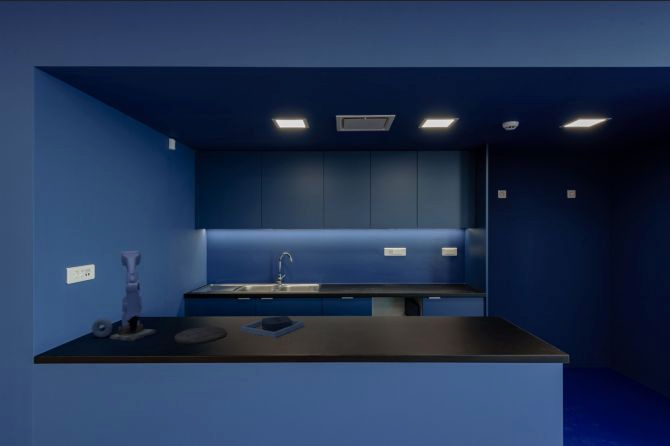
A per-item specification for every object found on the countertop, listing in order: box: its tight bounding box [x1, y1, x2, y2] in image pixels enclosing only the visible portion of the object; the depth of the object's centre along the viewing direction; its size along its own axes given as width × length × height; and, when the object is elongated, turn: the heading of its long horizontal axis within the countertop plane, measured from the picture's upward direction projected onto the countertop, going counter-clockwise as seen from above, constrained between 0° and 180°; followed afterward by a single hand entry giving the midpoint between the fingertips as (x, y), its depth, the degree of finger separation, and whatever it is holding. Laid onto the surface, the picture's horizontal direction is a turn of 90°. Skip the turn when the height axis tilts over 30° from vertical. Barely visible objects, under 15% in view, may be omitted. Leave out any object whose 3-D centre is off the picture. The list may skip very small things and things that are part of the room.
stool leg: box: [117, 323, 144, 335], centre depth 199 cm, size 12×3×4 cm, turn 134°
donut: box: [91, 317, 113, 338], centre depth 197 cm, size 10×4×10 cm, turn 93°
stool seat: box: [109, 324, 157, 342], centre depth 198 cm, size 15×15×4 cm
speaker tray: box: [240, 319, 305, 339], centre depth 205 cm, size 24×24×2 cm
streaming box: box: [261, 315, 293, 332], centre depth 205 cm, size 14×14×5 cm
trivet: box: [174, 326, 227, 345], centre depth 194 cm, size 25×25×2 cm
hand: (133, 331), depth 197 cm, fingers closed, pressing on stool leg
